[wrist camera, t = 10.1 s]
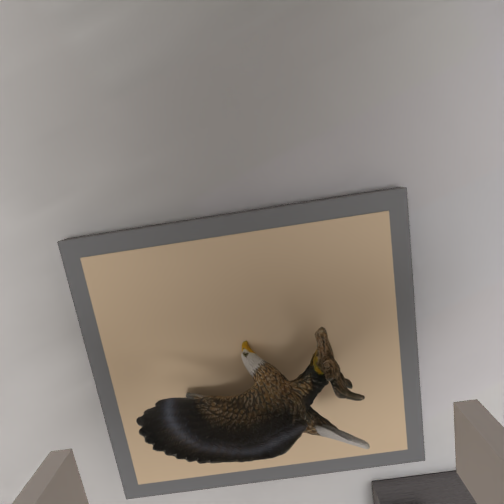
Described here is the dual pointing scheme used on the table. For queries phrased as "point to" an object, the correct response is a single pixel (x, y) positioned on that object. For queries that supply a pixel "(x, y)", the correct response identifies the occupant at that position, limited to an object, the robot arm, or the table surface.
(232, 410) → the eagle figurine
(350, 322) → the board
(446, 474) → the button housing
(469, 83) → the table surface
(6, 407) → the table surface
